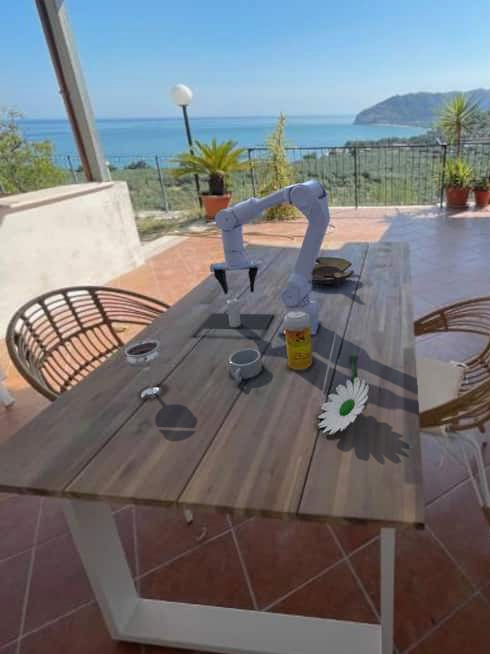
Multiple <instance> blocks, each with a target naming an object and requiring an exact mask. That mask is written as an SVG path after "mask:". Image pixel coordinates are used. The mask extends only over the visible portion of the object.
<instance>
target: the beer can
mask: <svg viewBox="0 0 490 654" xmlns="http://www.w3.org/2000/svg"><path fill="white" fill-rule="evenodd" d="M283 321H284V330H285V333H286V334H285V341H286V342H285V343H286V344H285V345H286V356H287V365H288V367H289V368H291V369H292V370H294V371H303V370H307V369H308V368H310V366H312V364H313V355H312V354H313V353H312V352H313V351H312V334H311V333H310V316H309V314H308V312H307V310H305V309H303V308H294V309H290V310H288V311H287V312H286V311H285V315H284V317H283Z"/></svg>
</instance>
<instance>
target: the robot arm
mask: <svg viewBox="0 0 490 654" xmlns="http://www.w3.org/2000/svg"><path fill="white" fill-rule="evenodd" d="M283 203H285V204H287V205H289V206H292V205H293V206H294V207H295V208H296V209H297V210H298V211H299V212H300V213H301V214H302V215H303V216H305V218H306V220H307V221H308V224H307V228H306V229H305V230H306V231H305V234H304V237H303V240H302V243H301V247H300V248H299V249H300V250H299V252H298V256H297V259H296V261H295V265H294V268H293V271H292V273H291V275H290V276H289V278H288V280H287V282H286V285H285V286H284V287H282V289H281V291H280V294H279V297H280V300H281V301H282V303H283V304H284V305H285V313H286V312H287V311H288V310H290V309H294V308H303V309H305V310H307V312H308V314H309V316H310V333H311V335H316V334H317V331H318V328H319V324H320V320H319V318H320V316H319V303H318V301H315V300H311V298H310V293H311V291H313V282H312V277H313V276H312V275H311V274H312V271H313V268H314V265H315V264H316V263H317V262H316V259H317V258H318V257H319V253H320V251H321V247H322V244H323V242H324V239H325V236H326V233H327V230H328V227H329V224H330V221H331V215H330V209H329V204H328V192H327V190H326V189H325V187H324V185H323V184H322V183H321V182H320V181H319V180H316V179H310V180H307V181H306V182H299V183H295V184H292V185H288V186H285V187H282V188H280V189H278V190H276V191H274V192H272V193H270V194H268V195H266V196H263V197H262V198H259V199H258V198H257V197H249V196H247V197H243V198H242V201H240V202H238V203H237V204H236V203H232V204H229V207H227V208H224V209H220V210H219V211H218V212H217V213H216V214H215V216H214V222H215V224H216V226H217V227H218V228H219V229H220V235H221V241H222V248H223V255H224V261H222V262H215V263H210V265H209V272H210V273H214V274H213V276H214V278H215V279H216V280H217V281H218V283H219V285H220V287H221V288H222V291H223V294H224V295H227V294H228V293H229V288H228V282H227V271H242V270H248V272H247V274H248V279H249V287H250V288H249V290H250V293H254V291H255V281H256V277H257V274H258V272H259V270H262V269H263V268H262V266H263V265H262V261H261V260H246V253H245V245H244V244H245V243H244V236H243V225H245V224H247V223H250V222H252V221H254V220H256V219H259V218H261V217H262V216H263V214H264V212H265V210H268V209H270V208H273V207H276V206H279V205H281V204H283ZM283 334H284V335H286V333H285V329H284V330H283Z"/></svg>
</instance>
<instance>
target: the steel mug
mask: <svg viewBox="0 0 490 654" xmlns="http://www.w3.org/2000/svg"><path fill="white" fill-rule="evenodd" d="M261 357H262V356H261V352H260V351H259V350H258V349H255V348H243V349H239V350H236V351H235V352H233V353H232V354H230V356H229V357H228V363H229V370H230V375H231V376H232V377H233V378H234V381H235V385H236V386H239V385H240V384H241V382H242V381H243V380H245V379H249V378H253V377H255V376H257V375H258V374H259V373H260V372H261V371H262V369H263V365H262V358H261Z"/></svg>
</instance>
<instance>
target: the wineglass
mask: <svg viewBox="0 0 490 654" xmlns="http://www.w3.org/2000/svg"><path fill="white" fill-rule="evenodd" d="M159 346H160V342H159V341H157V339H156V340H155V339H143V340H138V341H135V342H134V343H132V344H130V345H128V346H127V347H126V348H125V350H124V352H125V354H126V362H127V364H128V365H129V366H130V367H131V368H132V369H135V370H138V371H145V373H146V376H147V380H148V382H149V385H150V387H148V388H146V389H145V390H143V391H142V392H141V394H140V397H141V398H142V399H143V398H144V396H145V395H155V394H156V393H158V392H159V391H160V388H159V387H157V386H154V385H153V379H152V375H151V369H152V368H153V367H155V366H156V365H157V364H158V363H159V362H160V360H161V357H162V350H161V347H159Z"/></svg>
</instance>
